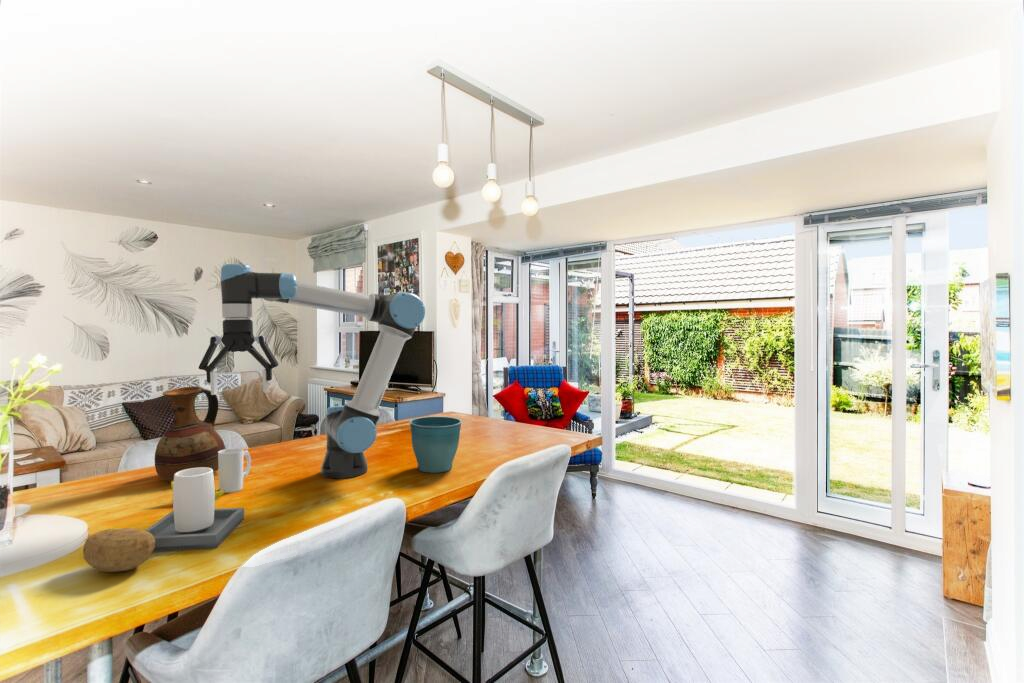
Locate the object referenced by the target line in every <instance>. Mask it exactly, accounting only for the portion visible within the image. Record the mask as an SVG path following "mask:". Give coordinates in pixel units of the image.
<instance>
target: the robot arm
mask: <svg viewBox="0 0 1024 683" xmlns="http://www.w3.org/2000/svg"><path fill="white" fill-rule="evenodd" d="M220 287H221V288H220V289H221V291H220V292H221V308H222V309H221V314H222V318H223V319H224V320H223V321H222V334H223V335H222V336H221V337H219V336H216V335H215V336H211V337H210V339H209V346H208V347H207V350H206V352H204V355H203V357H202V359H201V361H200V364H199V366H198V369H199V370H202V371H205V372H206V382H207V384H210V391H211V395H215V394H216V395H217V394H218V373H217V372H218V371H217V370H215V369H216V368H217V366H219V364H220V363H221V361H223V359H224V358H225V357H226V356H227V355H228V354H229V353H230V352H231V353H235V352H241V353H242V352H248V353H250V354H251V356H252V357H253V358H254V359H255V360H256V361H258V363H259V364H260V365H261V366H262V367H263V368H264V369H262V391H263V394H264V393H265V394H266V393H268V392H269V390H270V389H269V382H270V381H272V380H273V375H272V373H273V370H272V369H275V368H277V367H279V362H278V360H277V359H276V357H275V355H274V354H273V352H272V350H271V349H270V347H269V345H268V344H267V338H266V336H265V335H258V336H254V324H253V323H254V322H253V320H252V318H253V301H252V300H253V299H263V300H265V301H266V302H267V301H268V302H278V303H282V304H289V305H295V306H301V307H306V308H312V309H318V310H324V311H330V312H333V313H334V312H335V313H340V314H345V315H351V316H352V315H353V316H356V317H362V318H365V320H366V321H370V322H374V323H378V329H379V331H380V332H379V334H378V336H377V339H376V342H375V343H374V346H373V348H372V351H371V354H370V356H369V358H368V361H367V363H366V366H365V368H364V370H363V373H362V375H361V378H360V380H359V382H358V385H357V388H356V390H355V392H354V395H353V397H352V399H351V400H350V401H348V402H346V403H345V404H344V405H335V406H334V405H333V406H329V407H327V409H326V413H325V414H326V415H325V418H326V452H325V455H324V458H323V461H322V464H321V468H320V469H321V470H320V474H321V476H323V477H325V478H327V479H328V478H329V479H347V478H354V477H357V476H361V475H364V474H365V473H367V472H368V461H367V458H366V455H365V453H364V452H365V451H367V450H368V449H369V448H371V447H372V445H374V443H375V441H376V438H377V425H378V422H379V420H380V417H381V414H380V412H379V408H380V404H381V402H382V399H383V397H384V394H385V392H386V389H387V387H388V384H389V382H390V380H391V378H392V377H391V376H392V375H393V372H394V370H395V368H396V365H397V363H398V360H399V358H400V355H401V352H402V350H403V347H404V345H405V344H406V341H408V340H410V339H413V338H412V337H413V335H414V333H415V330H416V327H419V326H420V325H421V323H422V322H424V319H425V316H426V308H425V307H426V306H425V305H424V302H423V301H422V298H420V297H419V296H418V295H416V293H412V292H407V291H401V292H398V293H395V294H394V293H393V294H377V293H371V294H368V295H365V294H361V293H357V292H352V291H345V290H342V289H341V290H340V289H336V288H330V287H325V286H321V285H316V284H310V283H305V282H301V281H297V277H296V275H295V274H294V273H286V272H280V273H279V272H255V271H252V268H251V266H250V265H248V264H239V263H226V264H223V265H222V266H221V268H220ZM255 341H256V343H257V344H259V346H260V348H261V349H262V351H263V353H264V355H265V356H266V358H267V359H265V357H264V356H263V355H262V354H261V353H260V352H259V351H258V350H257V348H256V347H254V345H253V344H254V343H255ZM220 343H222V344H224V347H222V349H221V350H220V352H218V354H217V355H216V357H214V358H213V355H214V354H215V352H216V349H217V348H218V345H221V344H220ZM212 358H213V360H212V361H211V359H212ZM267 360H268V361H267ZM210 361H211V362H210Z"/></svg>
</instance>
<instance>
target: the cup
mask: <svg viewBox="0 0 1024 683" xmlns="http://www.w3.org/2000/svg"><path fill="white" fill-rule="evenodd" d="M173 482H174V483H173V490H172V506H173V507H172V509H173V510H172V511H173V512H174V524H175V530H176V531H178V532H192V531H197V530H201V529H204V528H207V527H209V526H211V525H212V524H213V522H214V509H216V508H215V506H216V505H215V502H216V501H215V492H216V489H215V488H216V487H215V476H214V472H213V469H211V468H207V467H198V468H190V469H185V470H181V471H178V472H177V473H175V474H174V481H173Z"/></svg>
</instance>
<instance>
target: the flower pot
mask: <svg viewBox="0 0 1024 683" xmlns="http://www.w3.org/2000/svg"><path fill="white" fill-rule="evenodd" d="M461 424H462V420H461V419H459V418H457V417H452V416H451V417H450V416H425V417H417V418H414V419H411V420H410V421H409V426H410V432H411V433H410V434H411V444H412V450H413V454H414V457H415V458H416V459H415V460H416V462H417V469H418V470H419V471H421V472H424V473H429V472H430V474H432V473H433V474H438V473H444V472H448V471H450V470H452V468H453V462H454V460H455V456H456V454H457V451H458V447H459V443H460V434H461V427H462V426H461Z"/></svg>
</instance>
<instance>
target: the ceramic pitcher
mask: <svg viewBox="0 0 1024 683" xmlns="http://www.w3.org/2000/svg"><path fill="white" fill-rule="evenodd" d="M200 394H204V395H205V396H206V398H207V403H208V404H207V406H208V407H207V408H208V409H207V413H206V416H205V417H204V419H203V420H200V418H199V417H198V415H197V412H196V407H195V404H196V398H197V397H198V395H200ZM162 395H163V396H164V397H166V398H167V400H169V401H170V403H171V404H172V406H171V407H172V408H171V410H172V414H173V415H174V418H173V422H172V425H171V426H170V427H168V428H167V429H166V430H165V432H164V433H163V435H161V437H160V438H159V440H158V443H157V444H156V448H155V452H154V467H155V468H154V469H155V471H156V474H157V475H158V477H159V478H160V479H162V480H164V481H169V482H170V480H173V482H174V474H175V473H177V472H178V471H181V470H185V469H190V468H198V467H207V468H211V469H213V473H215V472H217V471H219V467H218V452H219V451H221V450H224V449H227V448H226V444H225V442H224V440H223V437H221V435H220V434H219V433H218V431H217V430H216V429H215V423H216V420H217V415H218V411H219V399H218V397H217V394H215V395H211V389H207V388H205V387H201V386H198V385H196V386H187V387H178V388H173V389H168V390H166V391H163V392H162Z"/></svg>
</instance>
